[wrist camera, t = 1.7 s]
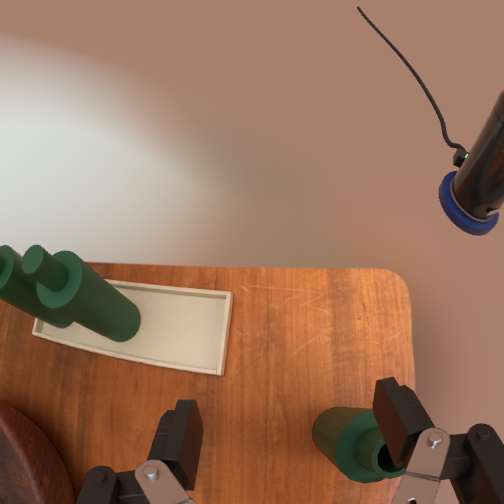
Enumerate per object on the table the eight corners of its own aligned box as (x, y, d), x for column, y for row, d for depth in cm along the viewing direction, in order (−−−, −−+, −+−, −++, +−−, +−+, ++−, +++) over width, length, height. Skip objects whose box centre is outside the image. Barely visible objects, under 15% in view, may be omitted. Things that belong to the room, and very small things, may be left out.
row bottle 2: (116, 292, 38) (34, 220, 22) (148, 312, 37) (69, 242, 21) (95, 328, 36) (1, 273, 20) (127, 350, 35) (32, 304, 19)
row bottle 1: (61, 284, 39) (-21, 220, 23) (85, 301, 38) (-3, 237, 22) (43, 316, 37) (-46, 263, 21) (66, 336, 36) (-30, 286, 20)
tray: (233, 297, 38) (231, 291, 36) (223, 376, 33) (220, 375, 32) (55, 277, 40) (48, 271, 39) (40, 337, 36) (31, 334, 34)
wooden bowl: (-14, 509, 21) (-54, 512, 12) (-21, 382, 33) (-65, 369, 23) (101, 571, 20) (64, 597, 11) (91, 421, 31) (40, 420, 22)
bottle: (324, 400, 31) (373, 398, 15) (368, 416, 30) (448, 422, 14) (303, 444, 29) (332, 485, 13) (348, 459, 28) (412, 503, 12)
